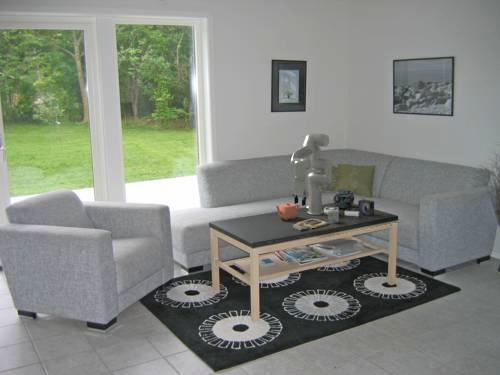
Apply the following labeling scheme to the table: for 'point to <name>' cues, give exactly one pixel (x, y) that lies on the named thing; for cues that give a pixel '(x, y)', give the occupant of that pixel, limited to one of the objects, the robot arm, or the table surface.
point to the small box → (366, 207)
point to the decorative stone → (343, 198)
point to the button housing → (300, 227)
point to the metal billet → (333, 216)
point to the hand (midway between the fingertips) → (300, 204)
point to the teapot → (288, 211)
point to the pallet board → (314, 223)
